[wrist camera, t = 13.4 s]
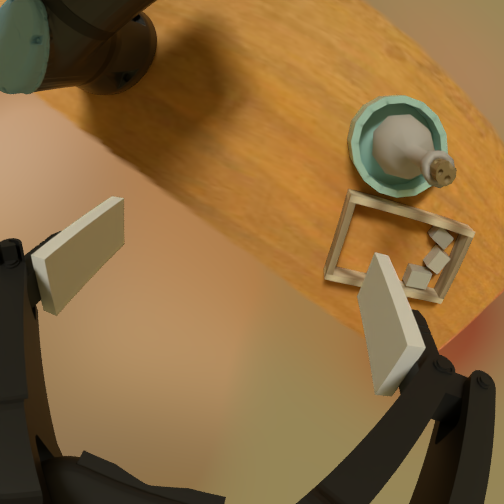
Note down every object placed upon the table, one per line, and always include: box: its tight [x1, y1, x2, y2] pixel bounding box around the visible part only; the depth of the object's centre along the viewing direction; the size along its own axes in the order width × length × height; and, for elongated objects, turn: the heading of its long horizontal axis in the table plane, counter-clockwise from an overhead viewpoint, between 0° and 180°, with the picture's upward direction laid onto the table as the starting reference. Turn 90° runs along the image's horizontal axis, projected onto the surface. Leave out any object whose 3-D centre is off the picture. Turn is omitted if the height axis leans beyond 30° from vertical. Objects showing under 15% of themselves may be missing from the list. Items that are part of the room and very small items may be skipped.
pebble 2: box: [423, 245, 450, 274], centre depth 47 cm, size 4×3×2 cm
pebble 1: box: [427, 225, 454, 250], centre depth 45 cm, size 4×2×2 cm
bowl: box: [347, 95, 448, 198], centre depth 39 cm, size 14×14×4 cm
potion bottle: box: [372, 114, 456, 188], centre depth 32 cm, size 9×9×18 cm
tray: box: [324, 189, 475, 304], centre depth 47 cm, size 22×14×3 cm, turn 80°
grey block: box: [402, 263, 432, 290], centre depth 49 cm, size 4×3×2 cm
